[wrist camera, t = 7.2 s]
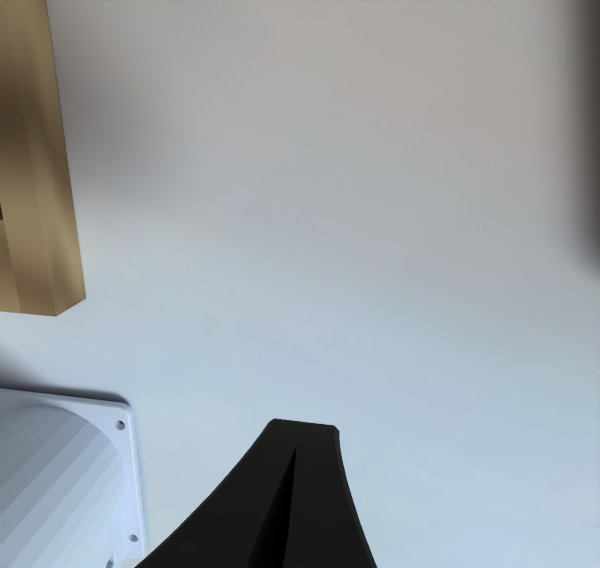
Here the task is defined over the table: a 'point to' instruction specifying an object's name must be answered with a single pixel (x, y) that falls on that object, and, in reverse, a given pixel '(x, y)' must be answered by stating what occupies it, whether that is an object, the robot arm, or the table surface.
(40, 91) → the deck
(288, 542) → the robot arm
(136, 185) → the table surface
